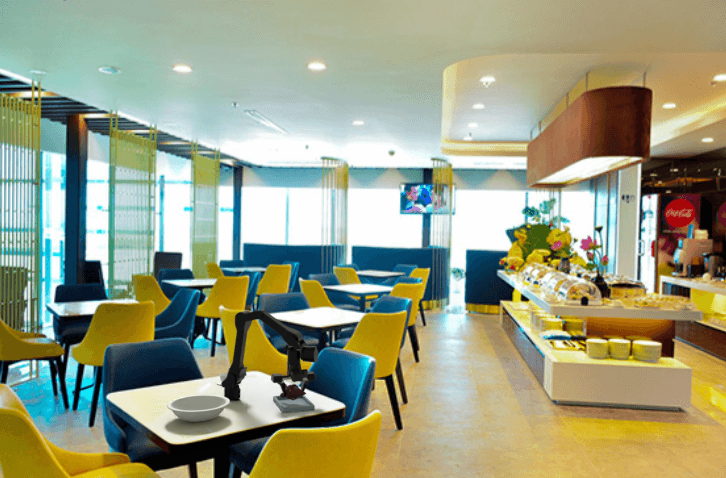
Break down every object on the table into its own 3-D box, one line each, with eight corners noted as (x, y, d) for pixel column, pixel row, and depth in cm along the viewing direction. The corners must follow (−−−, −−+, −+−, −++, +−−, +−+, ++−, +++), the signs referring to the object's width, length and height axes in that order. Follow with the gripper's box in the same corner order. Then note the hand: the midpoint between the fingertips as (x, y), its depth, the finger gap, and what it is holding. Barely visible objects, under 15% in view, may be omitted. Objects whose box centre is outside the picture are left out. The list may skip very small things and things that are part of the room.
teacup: (219, 387, 276) (219, 377, 276) (215, 382, 285) (215, 373, 285) (239, 385, 280) (240, 375, 281) (235, 380, 289) (235, 371, 289)
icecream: (312, 385, 246) (287, 383, 255) (301, 384, 240) (275, 381, 249) (310, 402, 244) (285, 399, 253) (298, 401, 239) (273, 398, 248)
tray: (282, 413, 235) (282, 408, 235) (273, 400, 253) (273, 396, 253) (314, 410, 240) (314, 405, 240) (302, 398, 258) (302, 393, 258)
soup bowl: (214, 406, 243) (214, 391, 243) (240, 421, 224) (240, 404, 224) (157, 417, 228) (158, 400, 228) (180, 433, 209) (180, 415, 209)
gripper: (276, 366, 236) (275, 403, 236) (319, 363, 242) (319, 400, 242) (271, 360, 246) (270, 396, 246) (312, 358, 253) (312, 393, 253)
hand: (293, 396), depth 247 cm, fingers closed on icecream, 7 cm apart
